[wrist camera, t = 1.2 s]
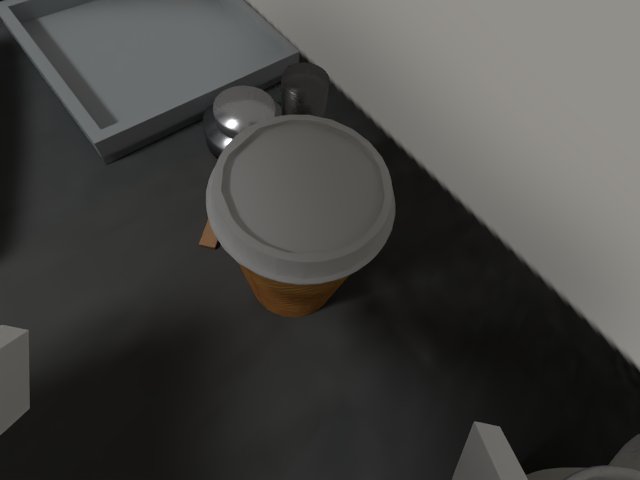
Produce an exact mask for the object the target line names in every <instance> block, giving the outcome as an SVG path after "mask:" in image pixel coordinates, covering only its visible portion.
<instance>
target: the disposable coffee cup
mask: <svg viewBox="0 0 640 480" xmlns="http://www.w3.org/2000/svg"><path fill="white" fill-rule="evenodd" d="M206 210H207V214H208V218H209V222H210V226H211V228H212V230H213V232H214V234H215V236H216V237H217V239H218V241H219V242H220V244H221V245H222V246H223V248H224V249H225V250H226V251H227V252H228V253H229V254H230V255H231V256H232V257H233V258H234V259H235V260H236V261H237V262H238V264H239V265H240V267H241V269H242V271H243V273H244V275H245V277H246V279H247V281H248V282H249V284H250V286H251V288H252V290H253V292H254V294H255V296H256V298H257V299H258V301H259V302H260V303H261V304H262V305H263V306H264V307H265V308H267V309H268V310H269V311H271V312H273V313H275V314H277V315H281V316H284V317H302V316H305V315H308V314H311V313H313V312H315V311H317V310H318V309H320V308H321V307H322V306H323V305H324V304H325V303H326V302H327V300H328V299H329V298H330V297H331V296H332V295H333V294H334V292H335V291H336V290H337V289H338V288H339V287H340V286H341V284H342V283H343V282H344V281H345V280H346V279H347V278H348V276H349V275H350V274H352V273H354V272H357V271H358V270H359V269H361V268H362V267H363V266H365V265H366V264H368V263H369V262H370V261H371V260H372V259H373V258H374V257H375V256H376V255H377V254H378V253H379V251H380V250H381V249H382V247H383V246H384V245H385V243H386V241H387V239H388V237H389V235H390V233H391V231H392V227H393V222H394V218H395V198H394V193H393V188H392V182H391V177H390V174H389V171H388V168H387V166H386V164H385V162H384V160H383V158H382V157H381V155H380V154H379V153H378V152H377V150H376V149H375V148H374V147H373V146H372V144H371V143H370V142H369V141H367V140H366V139H365V138H364V137H362V136H361V135H360V134H358V133H357V132H356V131H355V130H353V129H351V128H349V127H347V126H344V125H342V124H340V123H338V122H336V121H333V120H331V119H326V118H321V117H316V116H312V115H284V116H277V117H272V118H270V119H267V120H264V121H261V122H259V123H256V124H254V125H251V126H249V127H248V128H246V129H245V130H243V131H242V132H240V133H239V134H238V135H236V136H235V137H234V138H233V139H232V140H231V141H230V142H229V143H228V144H227V146H226V147H225V148H224V150H223V152H222V153H221V155H220V156H219V159H218V161H217V164H216V166H215V167H214V169H213V171H212V174H211V176H210V178H209V182H208V186H207V191H206Z"/></svg>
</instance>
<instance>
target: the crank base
mask: <svg viewBox="0 0 640 480" xmlns="http://www.w3.org/2000/svg"><path fill="white" fill-rule="evenodd" d="M273 101H274V100H273ZM213 103H214V101H213V102H212V103H211V104H210V105H209V107H208V108H207V110H206V111H205V114H204V117H203V126H204V131H205V136H206V140H207V145H208V148H209V149H210V151H211V153H212V154H213V155H214V156H215V157H216V158H217V159H219V156H220V155H221V153H222V152H223V150H224V148H225V147H226V146H227V144H228V143H229V142H230V141H231V140H232V139H231V138H229V137H227V136H225V135H224V134H223V133H222V132H221V131H220V130H219V129H218V128H217V126H216V123H215V118H214V112H213ZM274 103H275V117H277V116H281V106H280V105H279V104H278V103H277V102H276V101H274ZM217 243H218V239H217V237H216V236H215V234H214V232H213V230H212V228H211V226H210V222H209V219H208V221H207V224H206V227H205V230H204V232H203V235H202V238H201V240H200V243H199V246H201V247H206V248H211V249H216V246H217Z"/></svg>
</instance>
